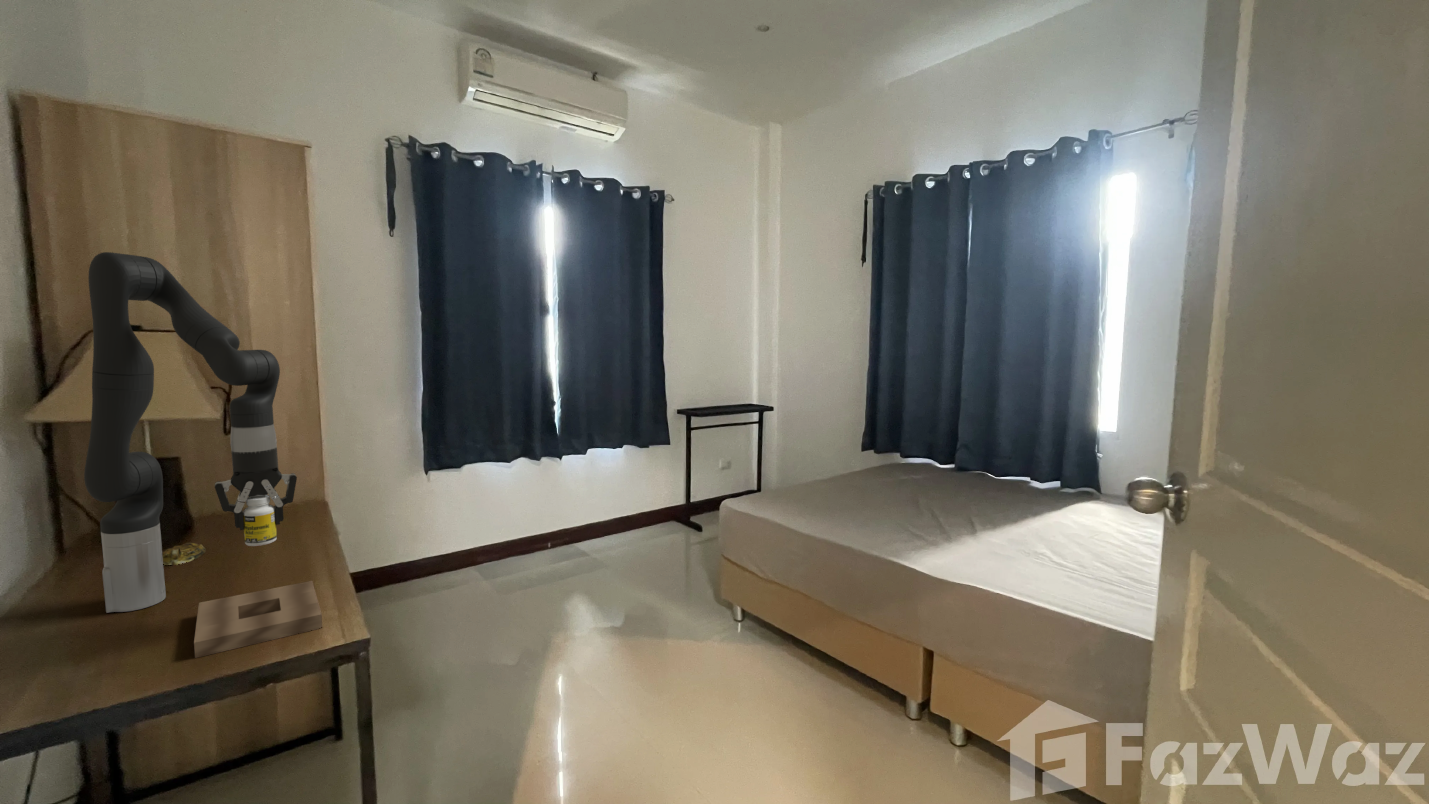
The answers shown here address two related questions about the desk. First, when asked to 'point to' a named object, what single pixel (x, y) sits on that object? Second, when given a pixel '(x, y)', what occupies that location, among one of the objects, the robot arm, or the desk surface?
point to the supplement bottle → (259, 521)
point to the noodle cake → (182, 553)
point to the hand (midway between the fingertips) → (260, 526)
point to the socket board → (256, 618)
